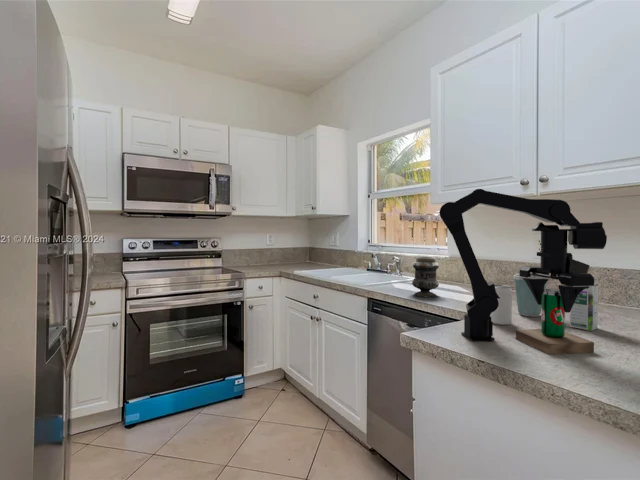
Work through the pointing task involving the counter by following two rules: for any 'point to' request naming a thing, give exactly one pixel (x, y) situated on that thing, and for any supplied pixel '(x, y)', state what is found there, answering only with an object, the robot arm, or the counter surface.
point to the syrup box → (585, 309)
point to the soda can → (552, 314)
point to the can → (503, 306)
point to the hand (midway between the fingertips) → (552, 308)
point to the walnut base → (555, 342)
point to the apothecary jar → (425, 275)
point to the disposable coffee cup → (526, 298)
